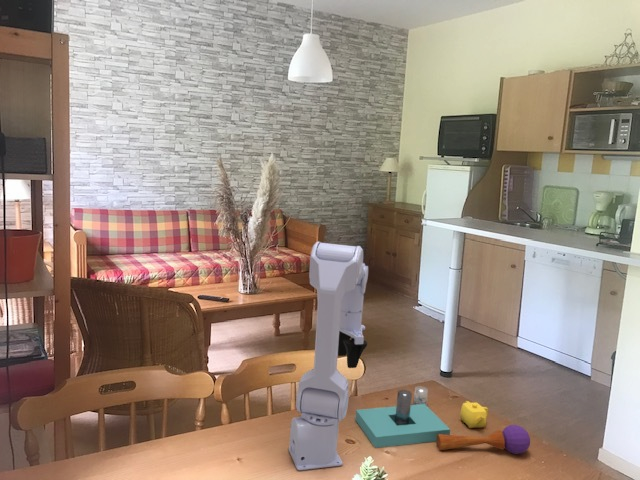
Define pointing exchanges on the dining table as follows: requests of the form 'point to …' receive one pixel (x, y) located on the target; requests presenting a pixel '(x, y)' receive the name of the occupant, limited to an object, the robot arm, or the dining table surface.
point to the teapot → (474, 414)
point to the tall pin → (403, 407)
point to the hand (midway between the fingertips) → (346, 361)
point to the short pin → (420, 395)
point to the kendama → (490, 440)
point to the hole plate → (400, 426)
